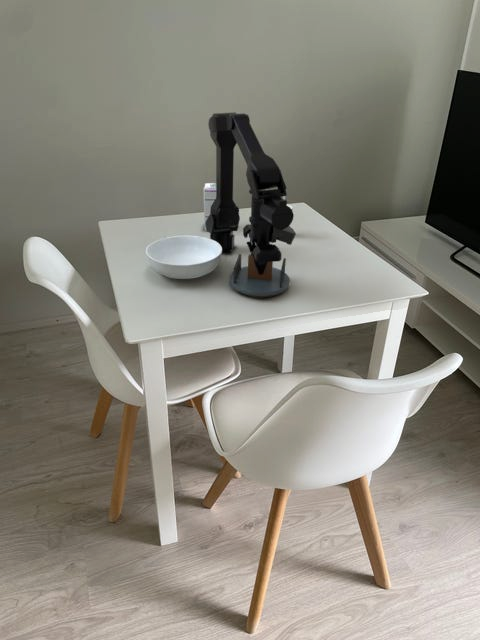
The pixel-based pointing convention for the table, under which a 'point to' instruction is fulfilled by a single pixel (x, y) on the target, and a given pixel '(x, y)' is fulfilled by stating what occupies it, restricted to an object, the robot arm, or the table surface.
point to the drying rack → (259, 278)
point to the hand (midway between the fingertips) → (259, 272)
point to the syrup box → (208, 199)
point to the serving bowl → (184, 256)
